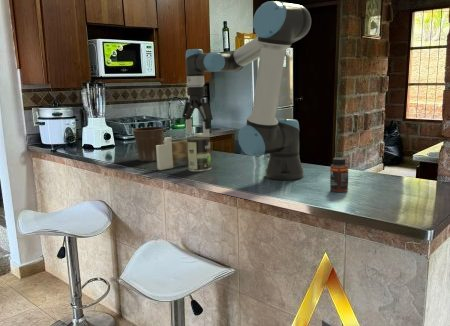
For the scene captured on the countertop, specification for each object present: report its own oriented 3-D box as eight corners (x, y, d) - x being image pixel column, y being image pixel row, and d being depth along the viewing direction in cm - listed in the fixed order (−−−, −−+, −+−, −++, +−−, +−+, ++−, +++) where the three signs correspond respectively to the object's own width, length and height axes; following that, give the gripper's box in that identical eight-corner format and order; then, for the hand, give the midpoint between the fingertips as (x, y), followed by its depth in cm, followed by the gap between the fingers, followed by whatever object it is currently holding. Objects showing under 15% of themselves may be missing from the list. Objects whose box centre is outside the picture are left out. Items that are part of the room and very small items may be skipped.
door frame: (210, 161, 206) (208, 132, 203) (160, 170, 190) (158, 139, 187) (207, 160, 208) (206, 132, 205) (157, 169, 191) (155, 138, 189)
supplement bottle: (351, 190, 145) (351, 157, 142) (343, 193, 140) (343, 160, 138) (335, 187, 149) (335, 156, 146) (326, 191, 144) (327, 158, 142)
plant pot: (143, 164, 205) (140, 131, 202) (129, 159, 218) (127, 128, 215) (172, 159, 215) (170, 128, 212) (157, 155, 228) (155, 126, 224)
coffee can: (213, 166, 192) (212, 136, 190) (208, 171, 182) (206, 139, 180) (191, 166, 194) (190, 136, 192) (185, 171, 184) (183, 139, 182)
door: (194, 161, 204) (192, 139, 202) (198, 162, 202) (196, 139, 200) (170, 165, 197) (169, 142, 194) (174, 166, 194) (173, 142, 192)
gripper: (173, 86, 189) (175, 133, 193) (205, 86, 169) (207, 138, 174) (187, 85, 193) (189, 131, 198) (220, 86, 174) (221, 136, 178)
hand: (197, 135), depth 186 cm, fingers open, 13 cm apart
